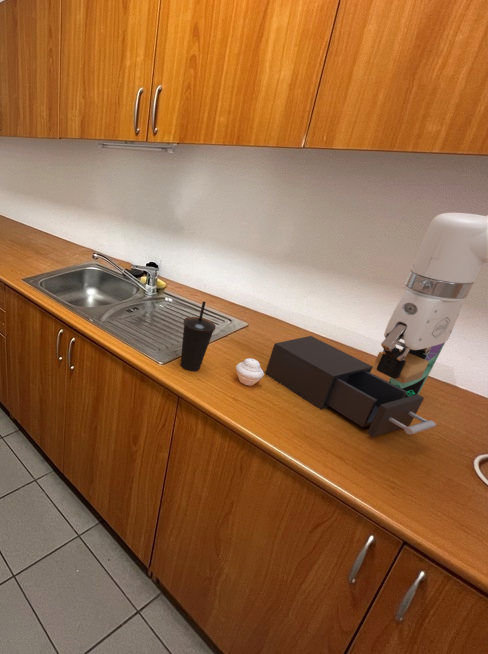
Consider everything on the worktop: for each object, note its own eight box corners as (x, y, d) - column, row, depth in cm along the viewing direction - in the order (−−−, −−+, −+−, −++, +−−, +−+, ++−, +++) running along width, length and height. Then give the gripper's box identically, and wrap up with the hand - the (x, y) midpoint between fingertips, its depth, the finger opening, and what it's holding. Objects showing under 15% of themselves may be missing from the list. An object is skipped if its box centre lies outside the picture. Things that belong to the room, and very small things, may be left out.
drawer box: (358, 399, 96) (373, 366, 93) (320, 409, 93) (333, 376, 90) (300, 365, 109) (310, 335, 106) (264, 373, 106) (274, 343, 102)
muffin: (227, 376, 105) (233, 354, 103) (247, 373, 106) (253, 351, 104) (245, 391, 100) (252, 368, 97) (266, 387, 101) (273, 364, 98)
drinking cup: (175, 371, 108) (189, 306, 100) (174, 356, 114) (186, 294, 106) (207, 377, 105) (223, 310, 97) (203, 361, 112) (218, 297, 104)
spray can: (385, 384, 101) (417, 315, 94) (415, 393, 98) (451, 323, 90) (385, 394, 98) (418, 323, 90) (416, 404, 94) (453, 332, 86)
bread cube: (420, 378, 74) (429, 361, 73) (403, 383, 73) (411, 366, 71) (389, 363, 79) (396, 347, 77) (371, 368, 77) (379, 352, 76)
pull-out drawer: (434, 439, 83) (450, 410, 80) (396, 452, 80) (411, 422, 77) (343, 388, 99) (354, 362, 96) (309, 397, 96) (319, 370, 93)
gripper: (432, 300, 63) (390, 392, 70) (497, 286, 68) (451, 374, 75) (377, 283, 70) (344, 369, 77) (440, 271, 74) (402, 353, 81)
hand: (397, 370), depth 76 cm, fingers closed on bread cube, 5 cm apart
